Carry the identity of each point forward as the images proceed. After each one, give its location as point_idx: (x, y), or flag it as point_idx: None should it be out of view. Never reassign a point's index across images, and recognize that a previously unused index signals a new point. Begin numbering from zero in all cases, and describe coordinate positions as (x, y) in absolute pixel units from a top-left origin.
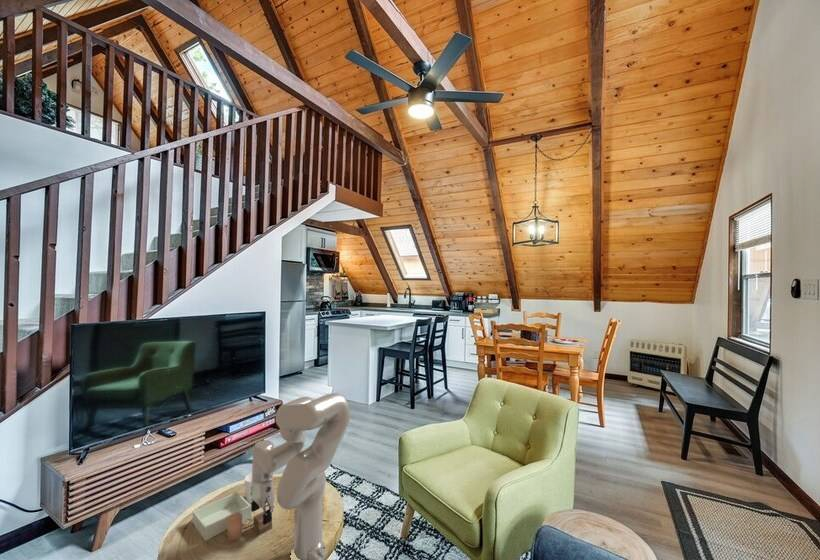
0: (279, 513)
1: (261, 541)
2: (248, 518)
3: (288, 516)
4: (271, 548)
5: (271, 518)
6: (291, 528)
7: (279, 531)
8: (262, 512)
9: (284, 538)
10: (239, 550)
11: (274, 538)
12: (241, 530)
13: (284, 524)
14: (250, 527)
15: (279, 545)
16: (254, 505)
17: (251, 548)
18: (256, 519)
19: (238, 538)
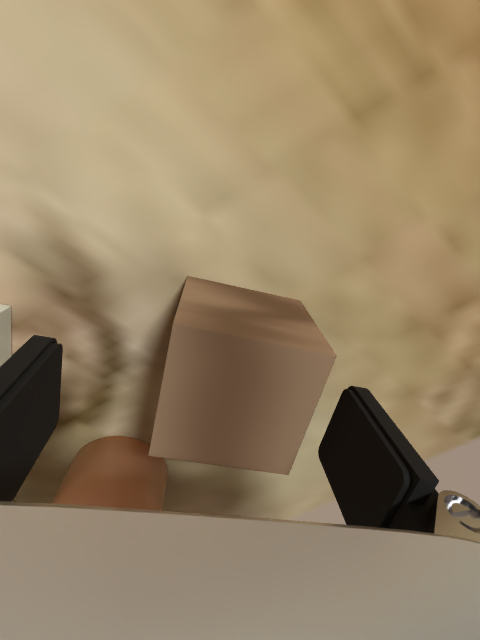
0: (193, 96)
1: (329, 419)
2: (9, 330)
3: (326, 80)
4: (436, 423)
5: (378, 404)
6: (466, 211)
7: (385, 292)
8: (171, 371)
9: (471, 324)
10: (262, 513)
11: (397, 360)
12: (152, 486)
13: (369, 205)
14: (132, 379)
15: (473, 384)
16: (23, 462)
17: (315, 477)
18: (217, 464)
19: (167, 475)
